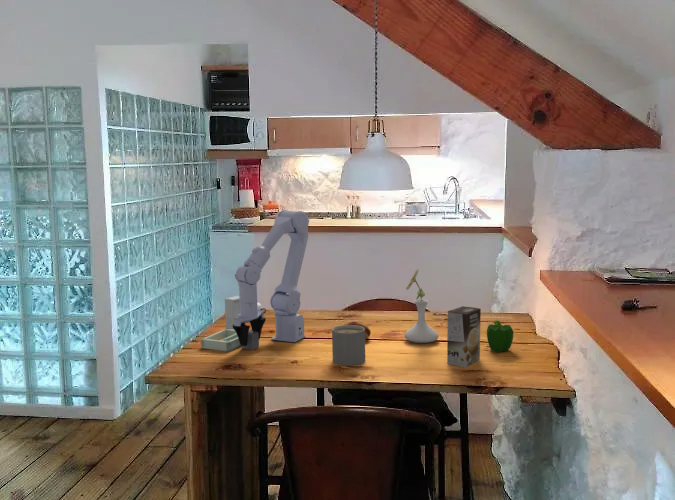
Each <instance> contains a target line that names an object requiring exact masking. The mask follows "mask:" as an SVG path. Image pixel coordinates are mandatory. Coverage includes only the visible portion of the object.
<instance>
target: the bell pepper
mask: <svg viewBox="0 0 675 500" xmlns="http://www.w3.org/2000/svg"><path fill="white" fill-rule="evenodd" d="M486 337H487V343H488V347H489V349H490V350H491V351H493V352H494V353H495V352H496V353H502V352H508V351H509V350H510V349H511V347H512V344H513V340H514V330H513V327H512V326H511V325H510V324H504V325H503V324H501V321H500V320H498V319H496V320H494V321H493V323H491V324H488V326H487V328H486Z"/></svg>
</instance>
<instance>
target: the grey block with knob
mask: <svg viewBox="0 0 675 500" xmlns="http://www.w3.org/2000/svg"><path fill="white" fill-rule="evenodd" d="M259 347H260V340H259V334H258V332H253V330H252V329H249V331H248V341H247V346H241V349H242V350H249V351H254V350H255V349H257V348H259Z"/></svg>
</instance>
